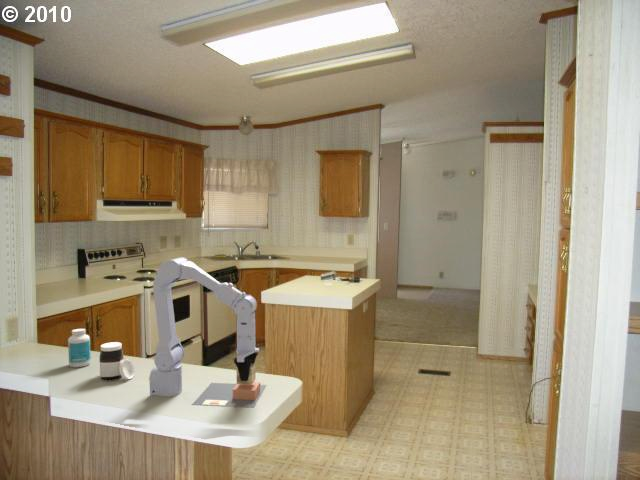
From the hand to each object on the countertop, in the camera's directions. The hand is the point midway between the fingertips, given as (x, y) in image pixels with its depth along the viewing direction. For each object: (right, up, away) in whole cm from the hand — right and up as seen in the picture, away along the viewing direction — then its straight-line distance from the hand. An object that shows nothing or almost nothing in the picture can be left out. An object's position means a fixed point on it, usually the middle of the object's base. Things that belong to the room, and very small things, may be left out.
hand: (246, 377), depth 152 cm
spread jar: (-48, -6, +19) cm, 52 cm away
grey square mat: (-5, -7, +1) cm, 8 cm away
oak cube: (0, -1, 0) cm, 1 cm away
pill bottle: (-68, -4, +32) cm, 75 cm away
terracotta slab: (0, -6, 0) cm, 6 cm away
